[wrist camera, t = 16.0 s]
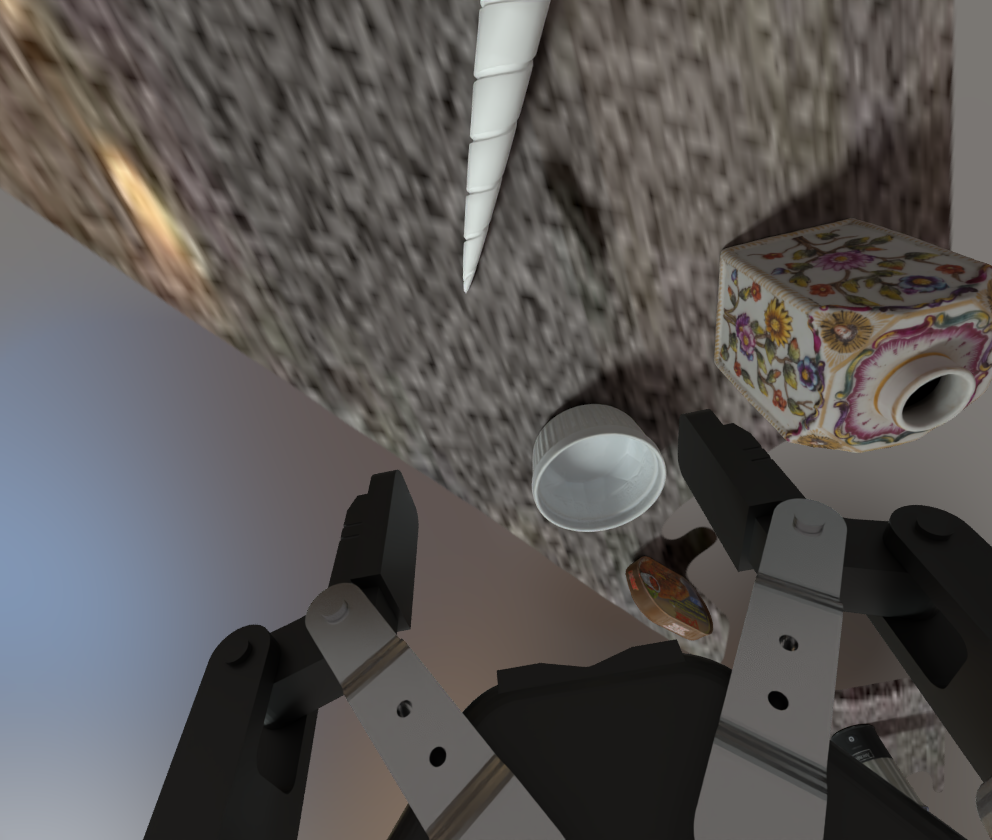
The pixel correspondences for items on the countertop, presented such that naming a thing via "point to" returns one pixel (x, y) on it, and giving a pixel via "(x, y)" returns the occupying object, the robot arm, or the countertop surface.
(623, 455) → the ramekin
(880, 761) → the milk frother
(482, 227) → the unicorn horn
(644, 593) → the tin
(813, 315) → the decorative jar
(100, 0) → the countertop surface
